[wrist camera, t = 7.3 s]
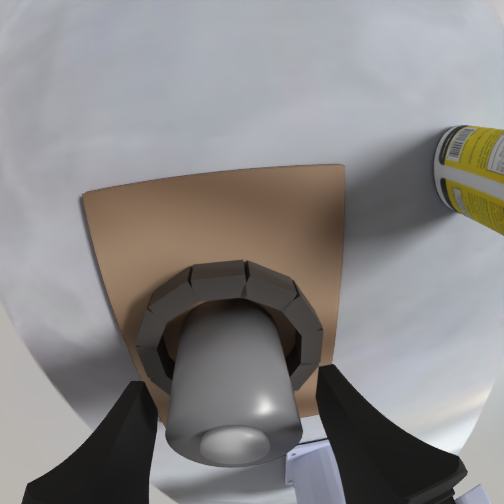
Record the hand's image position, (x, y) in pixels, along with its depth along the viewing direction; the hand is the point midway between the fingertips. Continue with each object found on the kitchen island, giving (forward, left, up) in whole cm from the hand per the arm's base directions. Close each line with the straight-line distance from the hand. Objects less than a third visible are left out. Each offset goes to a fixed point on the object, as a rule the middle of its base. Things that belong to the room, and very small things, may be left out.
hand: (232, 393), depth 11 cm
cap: (0, 0, -4) cm, 4 cm away
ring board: (0, 0, -4) cm, 4 cm away
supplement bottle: (+8, -13, -4) cm, 16 cm away
